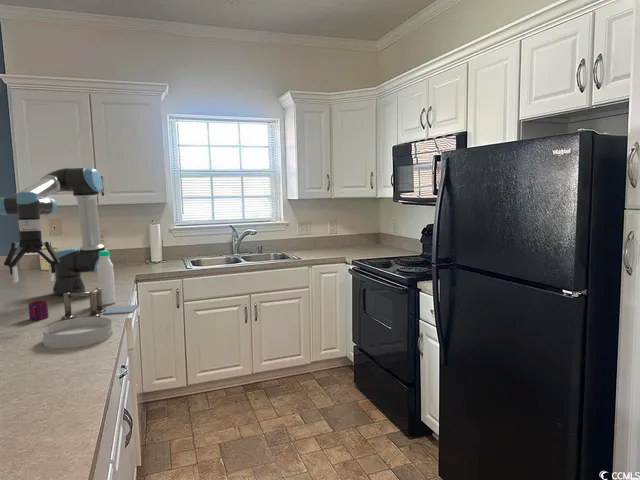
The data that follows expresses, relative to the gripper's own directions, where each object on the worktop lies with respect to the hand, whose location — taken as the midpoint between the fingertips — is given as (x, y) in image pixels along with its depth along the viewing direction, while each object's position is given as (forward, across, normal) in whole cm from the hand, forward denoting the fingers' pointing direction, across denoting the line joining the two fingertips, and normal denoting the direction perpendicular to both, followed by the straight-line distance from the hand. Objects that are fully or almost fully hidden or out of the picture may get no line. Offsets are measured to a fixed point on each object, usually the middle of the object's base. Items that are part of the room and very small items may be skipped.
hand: (34, 281), depth 186 cm
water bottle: (+16, +21, +23) cm, 35 cm away
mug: (+16, 0, 0) cm, 16 cm away
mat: (+16, +31, +8) cm, 36 cm away
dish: (+17, +26, -30) cm, 43 cm away
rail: (+16, +17, +4) cm, 24 cm away
